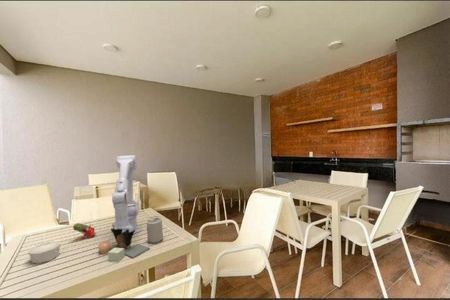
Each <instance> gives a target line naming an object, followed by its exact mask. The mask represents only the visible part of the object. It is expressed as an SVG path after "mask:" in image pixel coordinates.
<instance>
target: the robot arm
mask: <svg viewBox="0 0 450 300" xmlns="http://www.w3.org/2000/svg"><path fill="white" fill-rule="evenodd" d="M115 164H116V166H117V167H118V169H119V178H118V179H117V180H116V183H115V190H114V193H113V194H112V197H111V201H112V206H113V209H114V218H115V222H112V223H111V226H112V227H111V229H110V231H111V233H112V235H113V237H114V239H115V242H116V243H117V236H118V235H120V234H123V236H124V239H125V244H126V246H128V245H130V246H131V245H132V244H131V243H132V238H133V236H134V235H135V234H137V233H140V232H141V229H138V221H137V220H138V219H137V217H138V216H139V214H140V209H139V208H140V207H139V202H138V201H137V200H136V199H134V182H133V181H134V179H133V178H134V177H133V176H134V175H133V174H134V171H135V170H137V157H136V155H135V154H132V155H117V156H116V158H115Z"/></svg>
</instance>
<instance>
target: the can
mask: <svg viewBox="0 0 450 300" xmlns="http://www.w3.org/2000/svg"><path fill="white" fill-rule="evenodd" d="M146 233H147V235H146V236H147V241H148V242H149V243H151V244H156V243H160V242H161V241H162V240H163V238H164V235H163V234H164V233H163V220H162V218H161V216H159V215H152V216H150V217H148V218H147V221H146Z"/></svg>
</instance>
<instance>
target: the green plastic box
mask: <svg viewBox="0 0 450 300" xmlns="http://www.w3.org/2000/svg"><path fill="white" fill-rule="evenodd" d="M124 250H125V249H124V248H118V247H113V248H111V251H109V252H108V253H107V255H108V262H116V263H117V262H118V263H119V262H120V261H122V260H123V259H124V258H125V257H126V255H125V252H124Z"/></svg>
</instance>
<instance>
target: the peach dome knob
mask: <svg viewBox="0 0 450 300" xmlns="http://www.w3.org/2000/svg"><path fill="white" fill-rule="evenodd" d="M111 250H112V243H111V241H109V240H106V241H102V242H100V243H99V244H98V254H99V255H102V256H103V255H106V254H107V255H108V252H109V251H111Z"/></svg>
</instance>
